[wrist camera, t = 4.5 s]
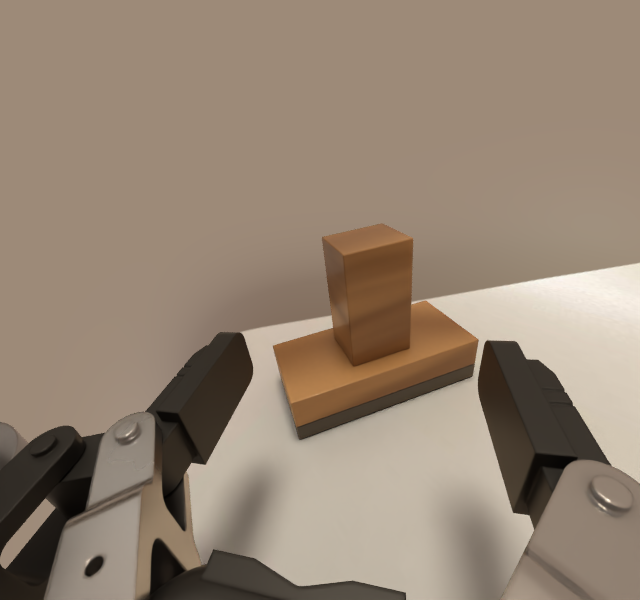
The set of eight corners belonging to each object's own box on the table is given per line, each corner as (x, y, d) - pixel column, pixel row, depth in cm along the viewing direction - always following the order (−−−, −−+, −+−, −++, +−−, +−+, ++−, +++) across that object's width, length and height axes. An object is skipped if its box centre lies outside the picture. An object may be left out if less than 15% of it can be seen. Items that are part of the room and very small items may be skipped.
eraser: (472, 376, 18) (498, 225, 14) (299, 440, 16) (261, 285, 12) (423, 332, 23) (431, 206, 18) (281, 378, 20) (247, 246, 16)
